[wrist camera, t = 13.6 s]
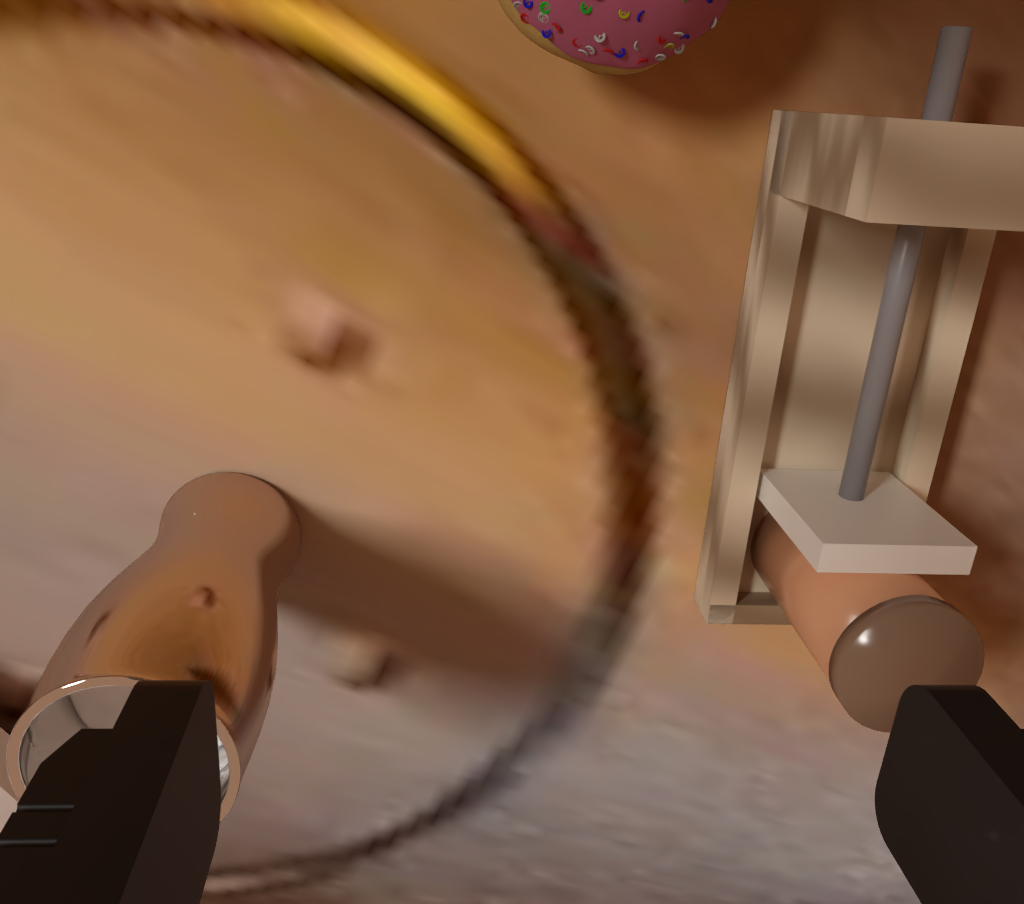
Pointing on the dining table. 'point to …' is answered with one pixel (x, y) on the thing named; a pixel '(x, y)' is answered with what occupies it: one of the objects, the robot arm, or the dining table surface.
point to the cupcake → (614, 29)
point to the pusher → (877, 427)
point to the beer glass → (177, 626)
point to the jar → (868, 628)
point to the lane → (849, 313)
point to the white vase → (5, 784)
